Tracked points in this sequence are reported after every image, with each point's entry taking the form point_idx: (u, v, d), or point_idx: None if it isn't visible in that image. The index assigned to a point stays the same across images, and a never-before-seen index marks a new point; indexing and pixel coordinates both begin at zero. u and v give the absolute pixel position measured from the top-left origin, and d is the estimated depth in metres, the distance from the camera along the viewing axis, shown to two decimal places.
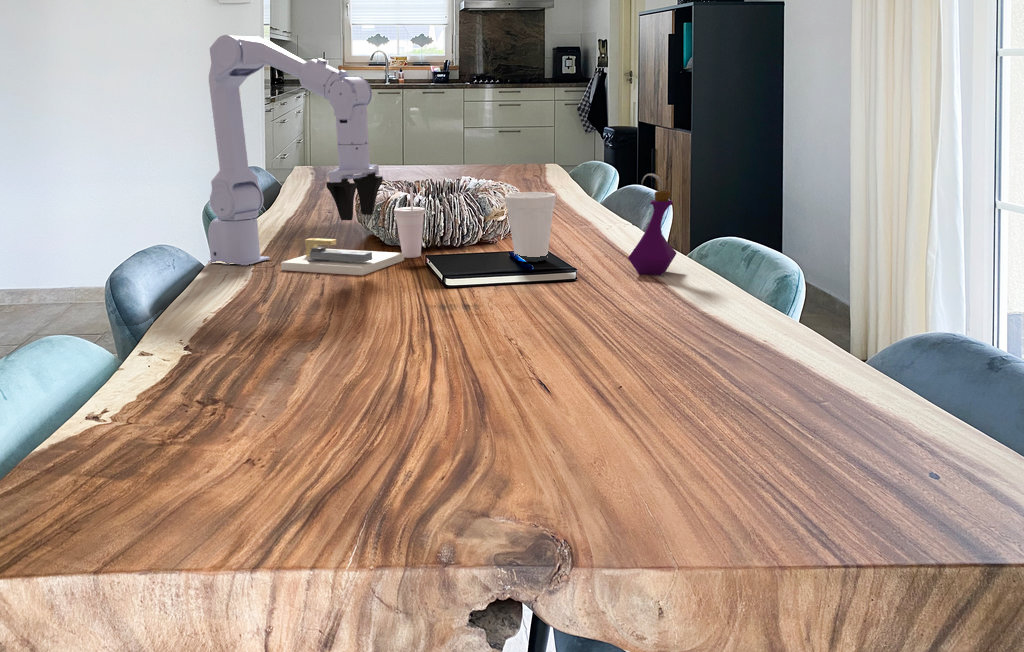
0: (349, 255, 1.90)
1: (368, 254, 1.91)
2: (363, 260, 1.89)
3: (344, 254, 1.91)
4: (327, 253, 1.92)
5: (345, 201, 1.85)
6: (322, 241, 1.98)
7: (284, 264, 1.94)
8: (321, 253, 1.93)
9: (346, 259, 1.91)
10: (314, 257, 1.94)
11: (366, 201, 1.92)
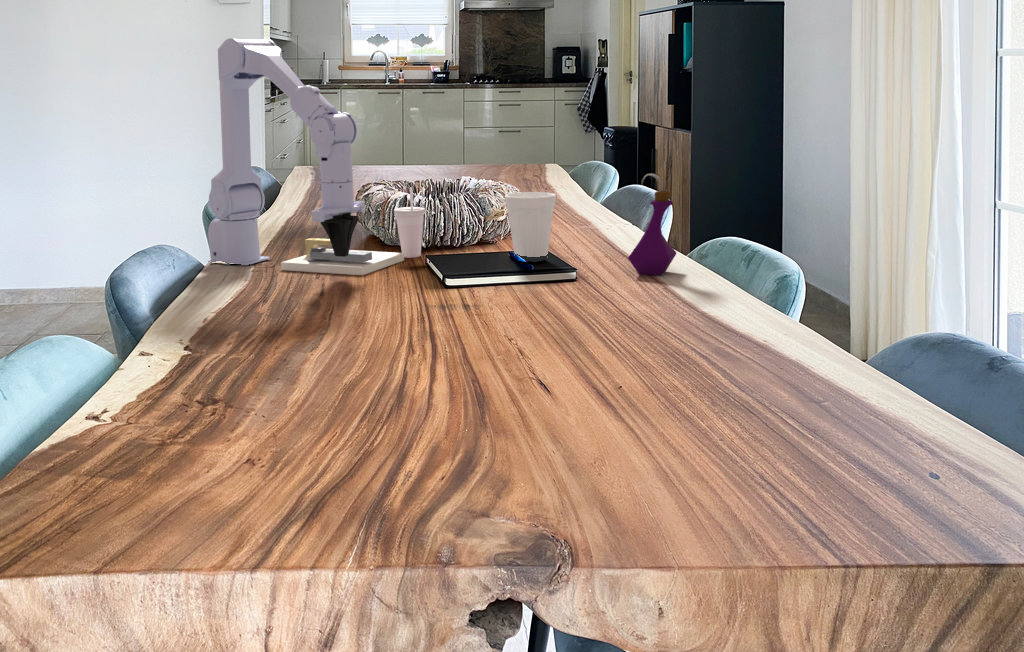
0: (349, 255, 1.90)
1: (368, 254, 1.91)
2: (363, 260, 1.89)
3: None
4: (327, 253, 1.92)
5: (339, 237, 1.84)
6: (322, 241, 1.98)
7: (284, 264, 1.94)
8: (321, 253, 1.93)
9: (346, 259, 1.91)
10: (314, 257, 1.94)
11: None
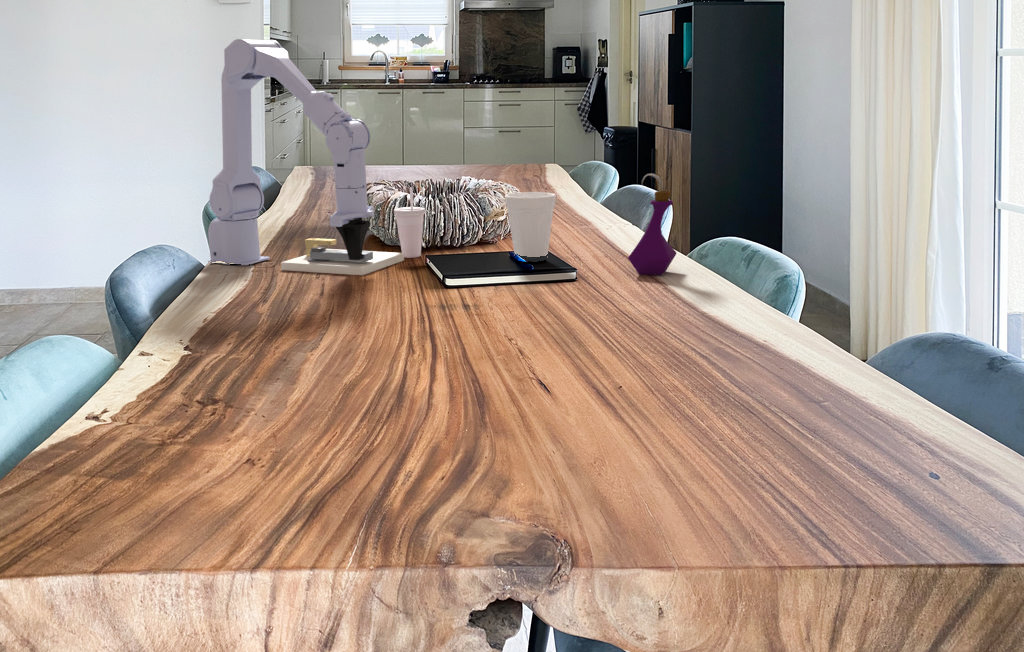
0: None
1: (369, 254, 1.91)
2: (364, 260, 1.90)
3: (345, 254, 1.91)
4: (328, 253, 1.92)
5: (354, 241, 1.88)
6: (322, 241, 1.98)
7: (284, 264, 1.94)
8: (321, 253, 1.93)
9: (347, 259, 1.91)
10: (314, 257, 1.94)
11: (354, 246, 1.89)
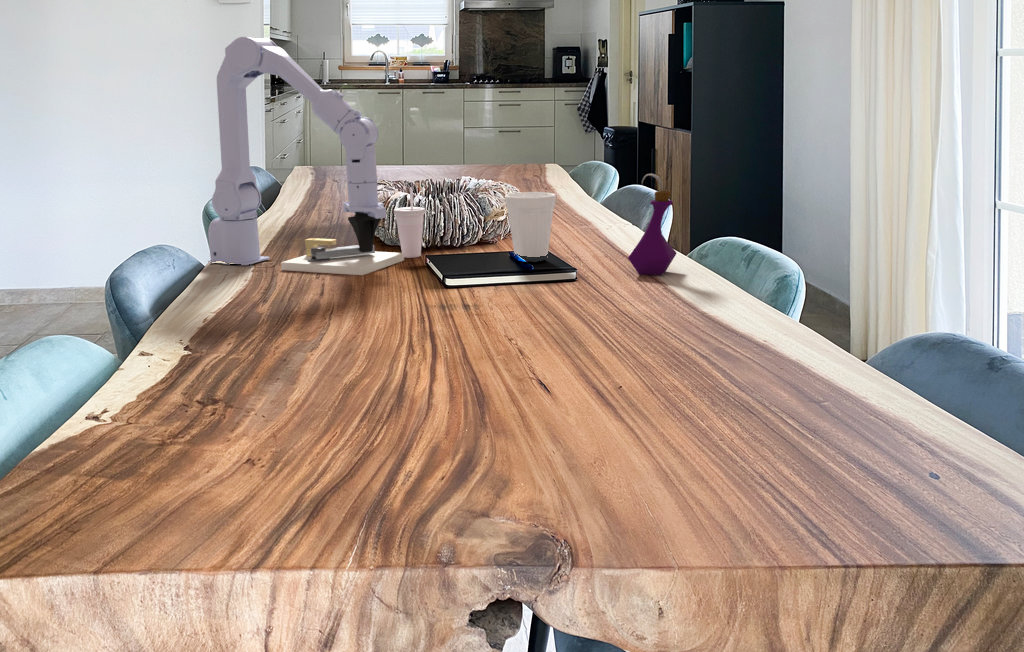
0: (359, 249, 1.97)
1: None
2: (373, 251, 1.99)
3: (354, 249, 1.97)
4: (335, 250, 1.95)
5: (367, 234, 1.97)
6: (322, 241, 1.98)
7: (284, 264, 1.94)
8: (329, 251, 1.94)
9: (356, 253, 1.97)
10: (321, 257, 1.94)
11: (366, 239, 1.97)
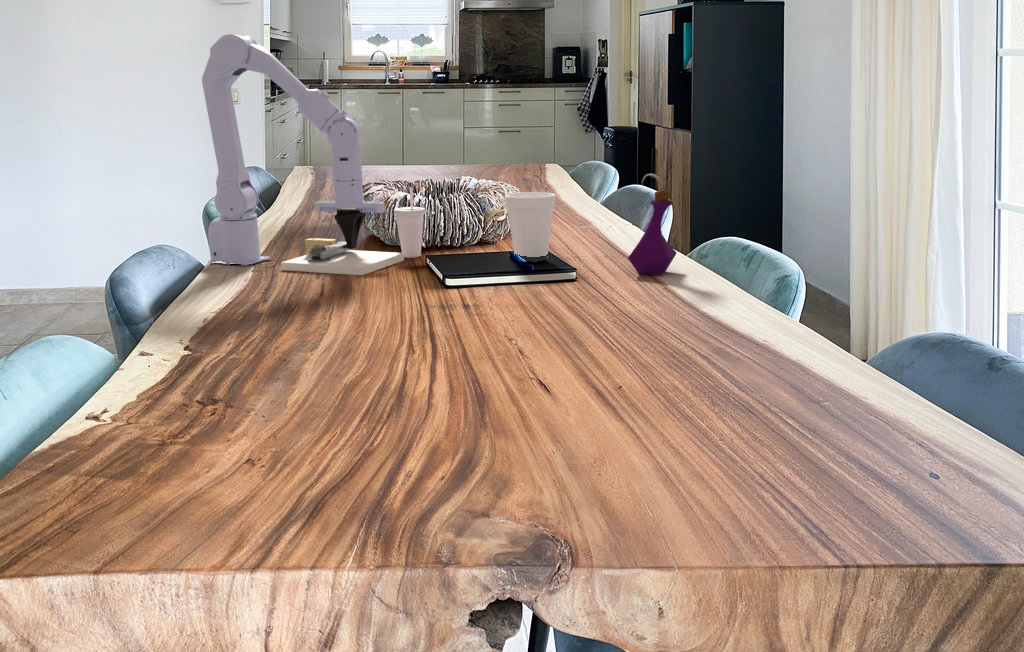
0: (345, 245, 2.01)
1: None
2: None
3: (342, 246, 2.00)
4: (332, 249, 1.97)
5: (354, 230, 2.02)
6: (322, 241, 1.98)
7: (284, 264, 1.94)
8: (329, 250, 1.96)
9: (344, 250, 2.01)
10: (325, 256, 1.94)
11: None
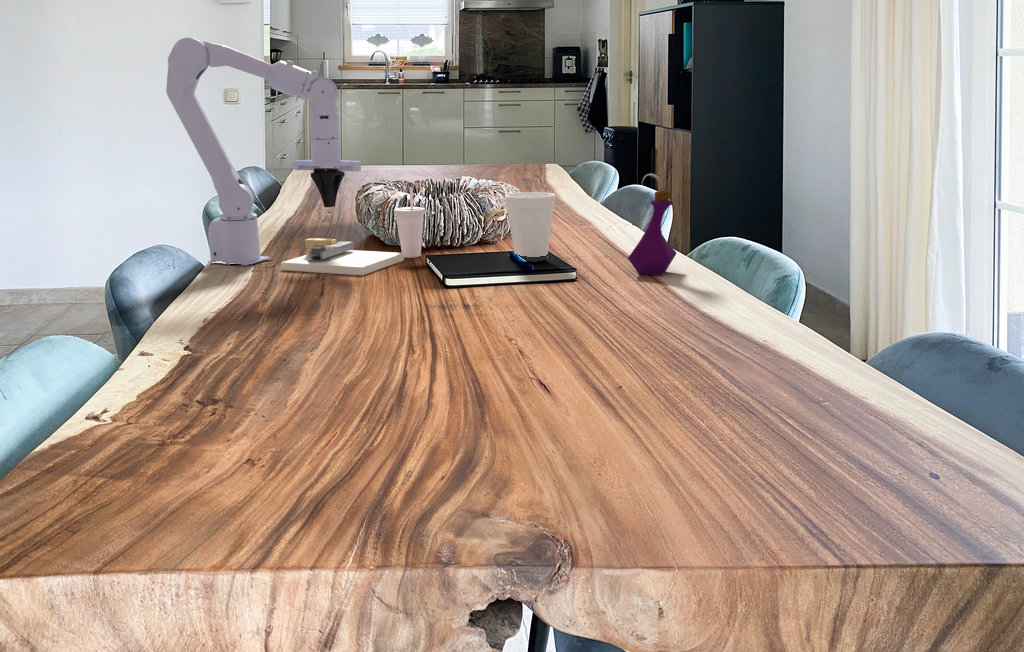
0: (345, 245, 2.01)
1: None
2: (352, 247, 2.04)
3: (342, 246, 2.00)
4: (332, 249, 1.97)
5: (333, 189, 2.03)
6: (322, 241, 1.98)
7: (284, 264, 1.94)
8: (329, 250, 1.96)
9: (344, 250, 2.01)
10: (325, 256, 1.94)
11: None
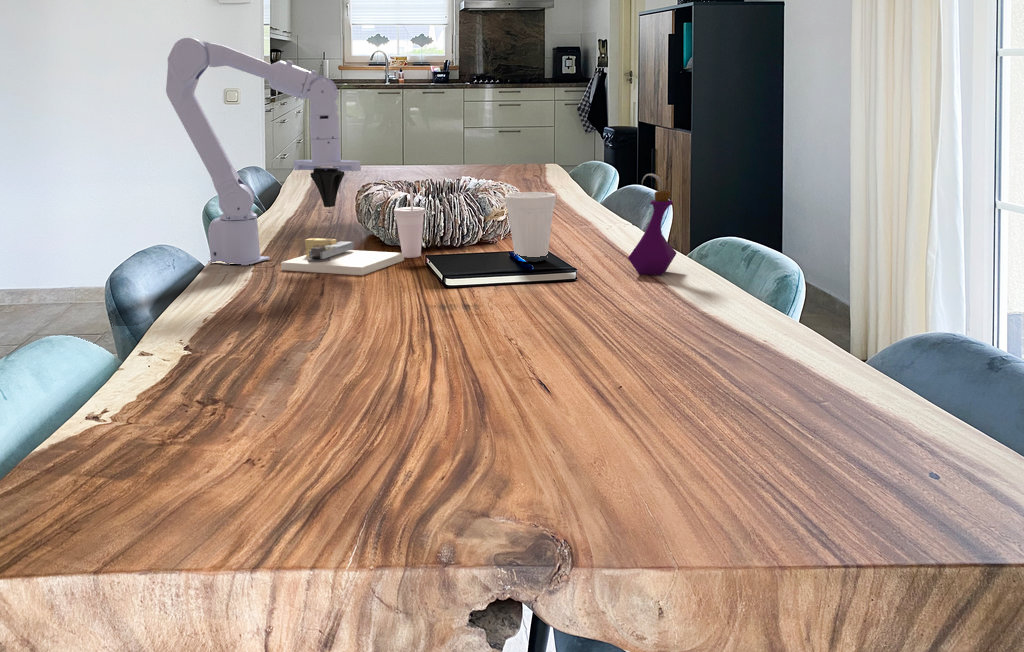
0: (345, 245, 2.01)
1: None
2: (352, 247, 2.04)
3: (342, 246, 2.00)
4: (332, 249, 1.97)
5: (332, 189, 2.03)
6: (322, 241, 1.98)
7: (284, 264, 1.94)
8: (329, 250, 1.96)
9: (344, 250, 2.01)
10: (325, 256, 1.94)
11: None
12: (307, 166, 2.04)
